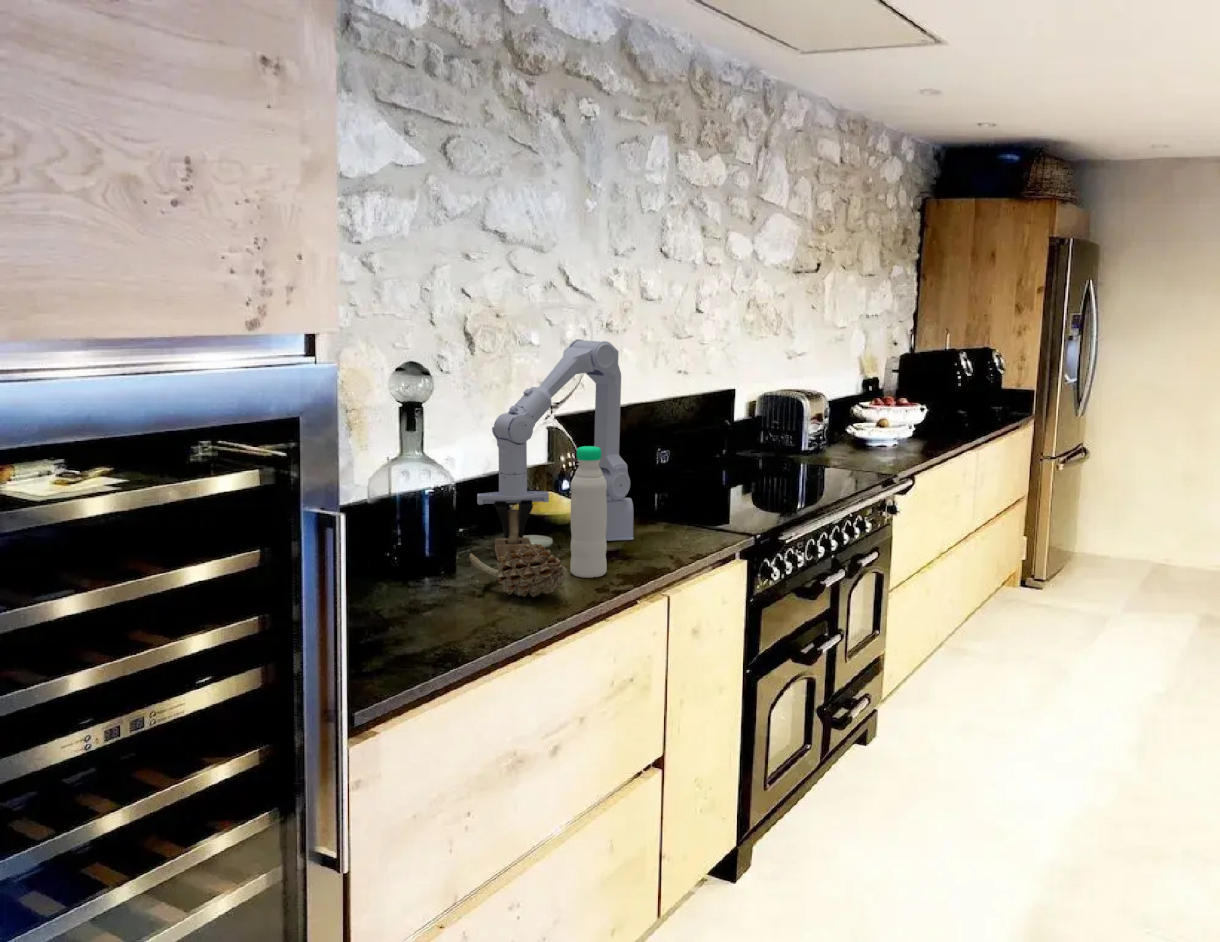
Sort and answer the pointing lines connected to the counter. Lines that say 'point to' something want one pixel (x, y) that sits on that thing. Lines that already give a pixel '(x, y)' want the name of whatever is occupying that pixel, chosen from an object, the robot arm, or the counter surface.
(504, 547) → the holder
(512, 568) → the pine cone
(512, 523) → the pin
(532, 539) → the coaster
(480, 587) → the counter surface
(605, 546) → the water bottle
